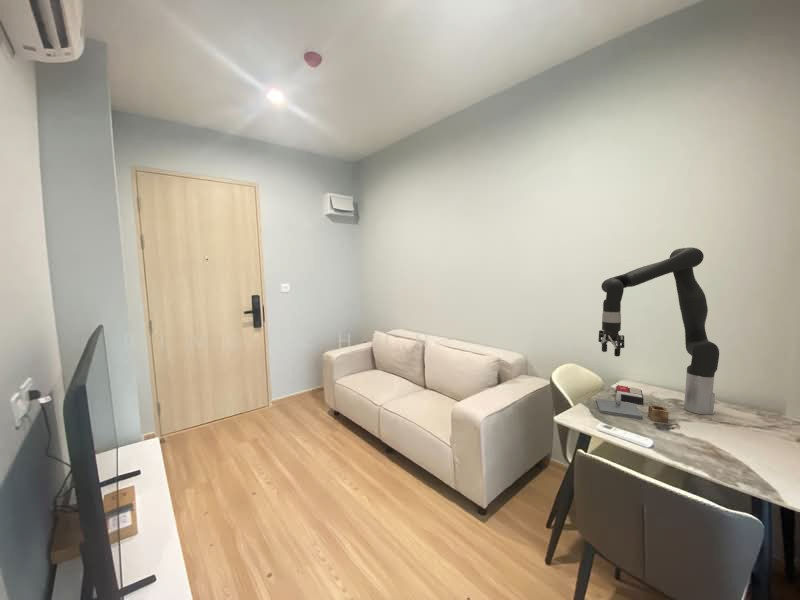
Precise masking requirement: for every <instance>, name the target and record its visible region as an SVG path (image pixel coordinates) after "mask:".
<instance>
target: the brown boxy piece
mask: <svg viewBox="0 0 800 600" xmlns="http://www.w3.org/2000/svg"><path fill="white" fill-rule="evenodd" d="M647 407H648V409H647V410H648V411H647V416H648V418H649V420H650V421H651V422H657V423H664V424H668V423H669V413H670V412H669V411H668V409H667V408H666V407H665V406H662V405H655V404H648V406H647Z"/></svg>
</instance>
